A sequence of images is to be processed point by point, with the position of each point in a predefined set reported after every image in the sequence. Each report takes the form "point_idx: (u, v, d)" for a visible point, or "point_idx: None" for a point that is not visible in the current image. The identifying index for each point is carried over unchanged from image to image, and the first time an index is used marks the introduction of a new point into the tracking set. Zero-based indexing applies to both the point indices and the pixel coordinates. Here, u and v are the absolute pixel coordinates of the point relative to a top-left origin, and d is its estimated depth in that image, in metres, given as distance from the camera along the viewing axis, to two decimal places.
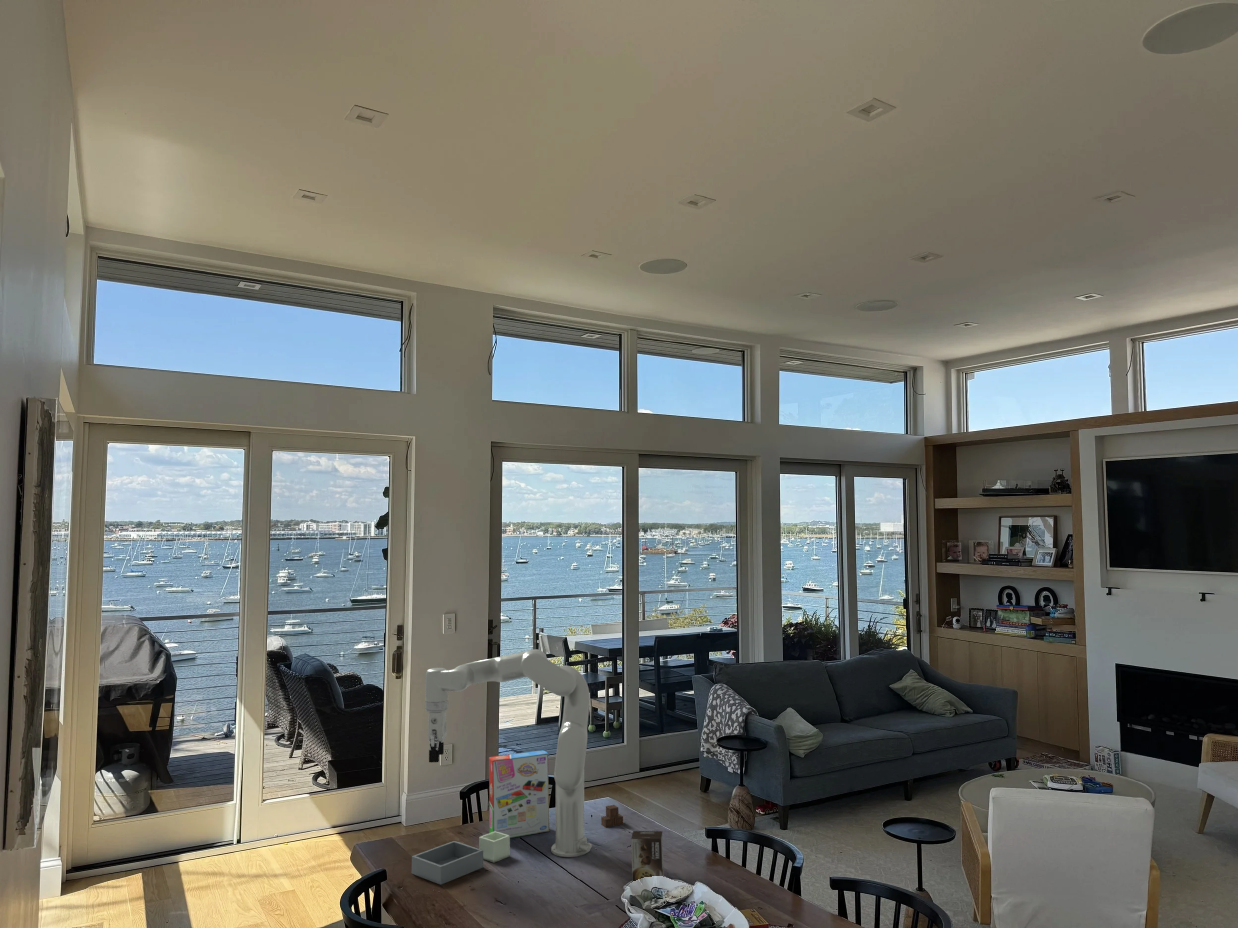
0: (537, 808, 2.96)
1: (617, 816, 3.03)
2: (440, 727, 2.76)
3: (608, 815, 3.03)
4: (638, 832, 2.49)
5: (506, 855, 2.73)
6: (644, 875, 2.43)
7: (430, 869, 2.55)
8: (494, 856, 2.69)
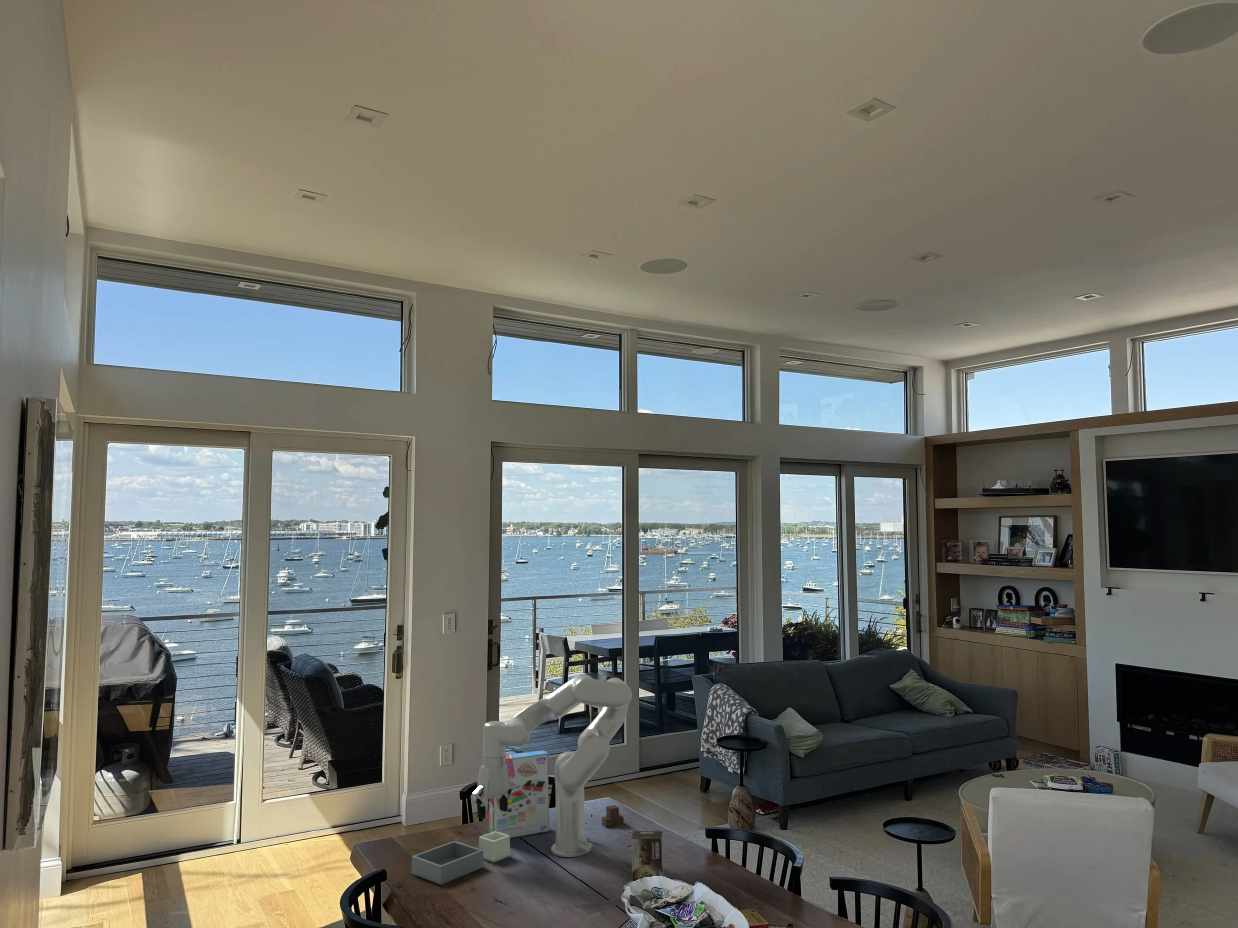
0: (537, 808, 2.96)
1: (617, 816, 3.03)
2: None
3: (608, 815, 3.02)
4: (638, 832, 2.49)
5: (506, 855, 2.73)
6: (644, 875, 2.43)
7: (430, 869, 2.55)
8: (494, 856, 2.69)
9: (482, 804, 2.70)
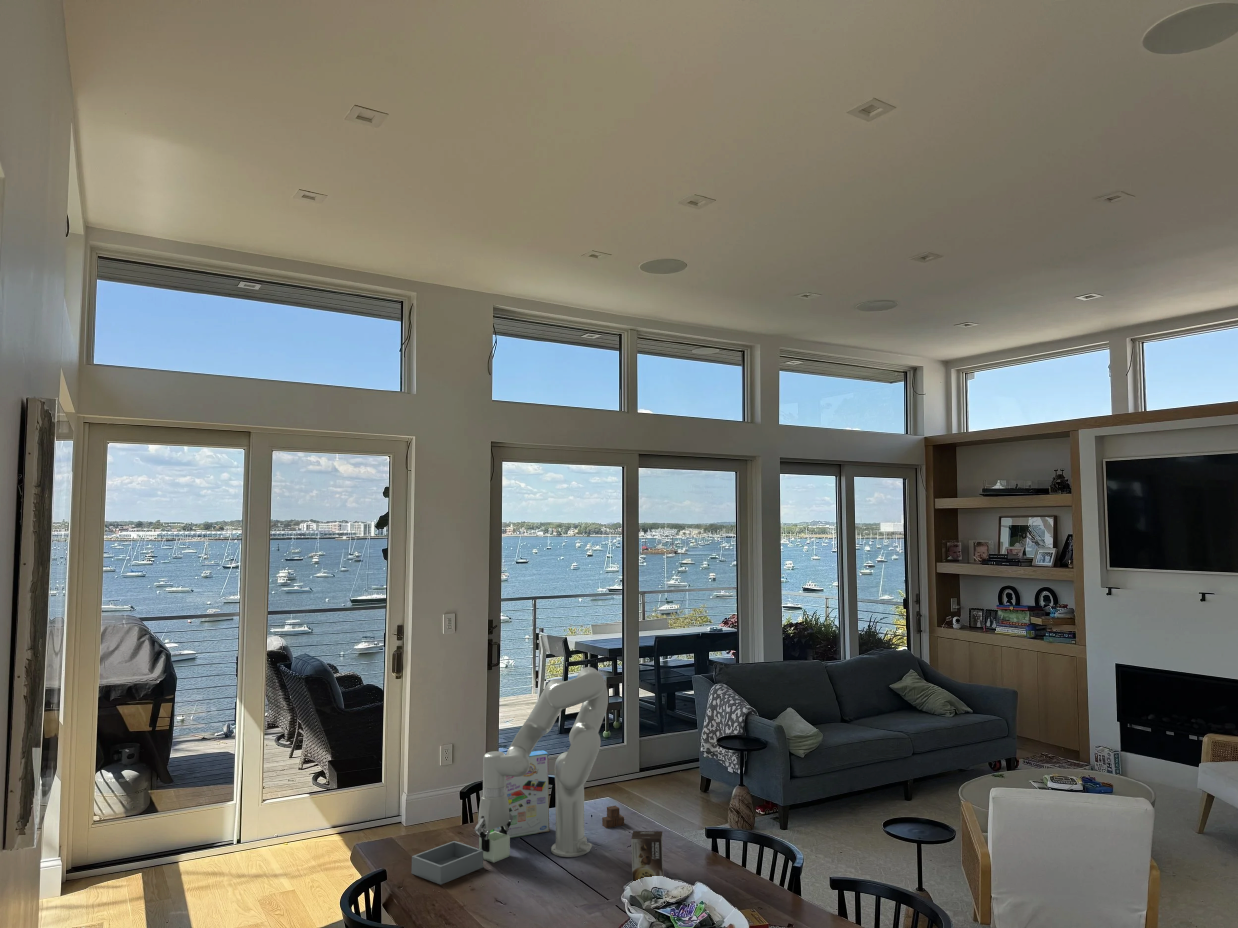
0: (537, 808, 2.96)
1: (618, 817, 3.02)
2: None
3: (609, 816, 3.02)
4: (638, 832, 2.49)
5: (506, 855, 2.73)
6: (644, 875, 2.43)
7: (430, 869, 2.55)
8: (494, 856, 2.69)
9: (486, 837, 2.70)
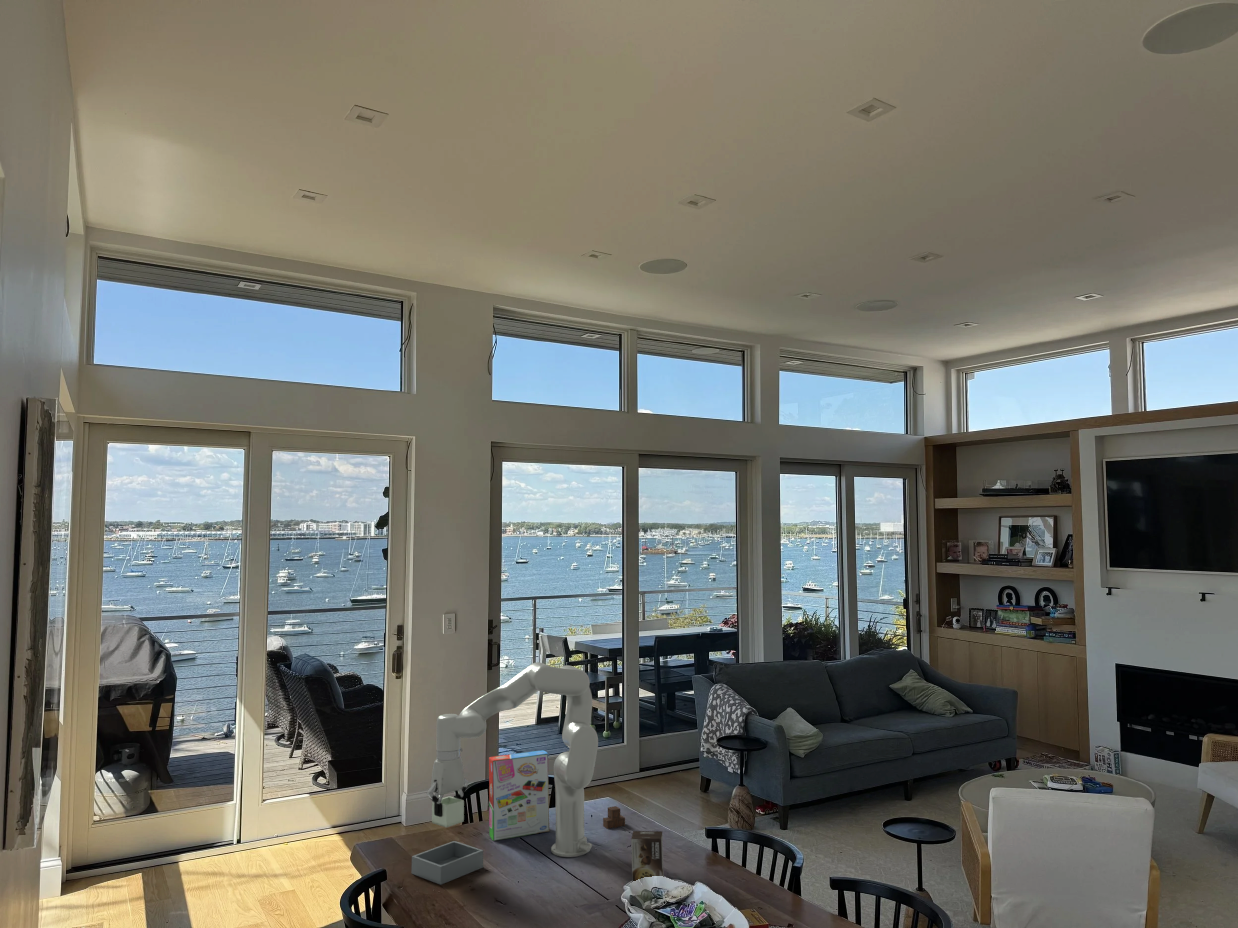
0: (537, 808, 2.96)
1: (619, 817, 3.01)
2: None
3: (610, 816, 3.01)
4: (638, 832, 2.49)
5: (460, 820, 2.64)
6: (644, 875, 2.43)
7: (430, 869, 2.55)
8: (447, 821, 2.60)
9: (439, 801, 2.61)
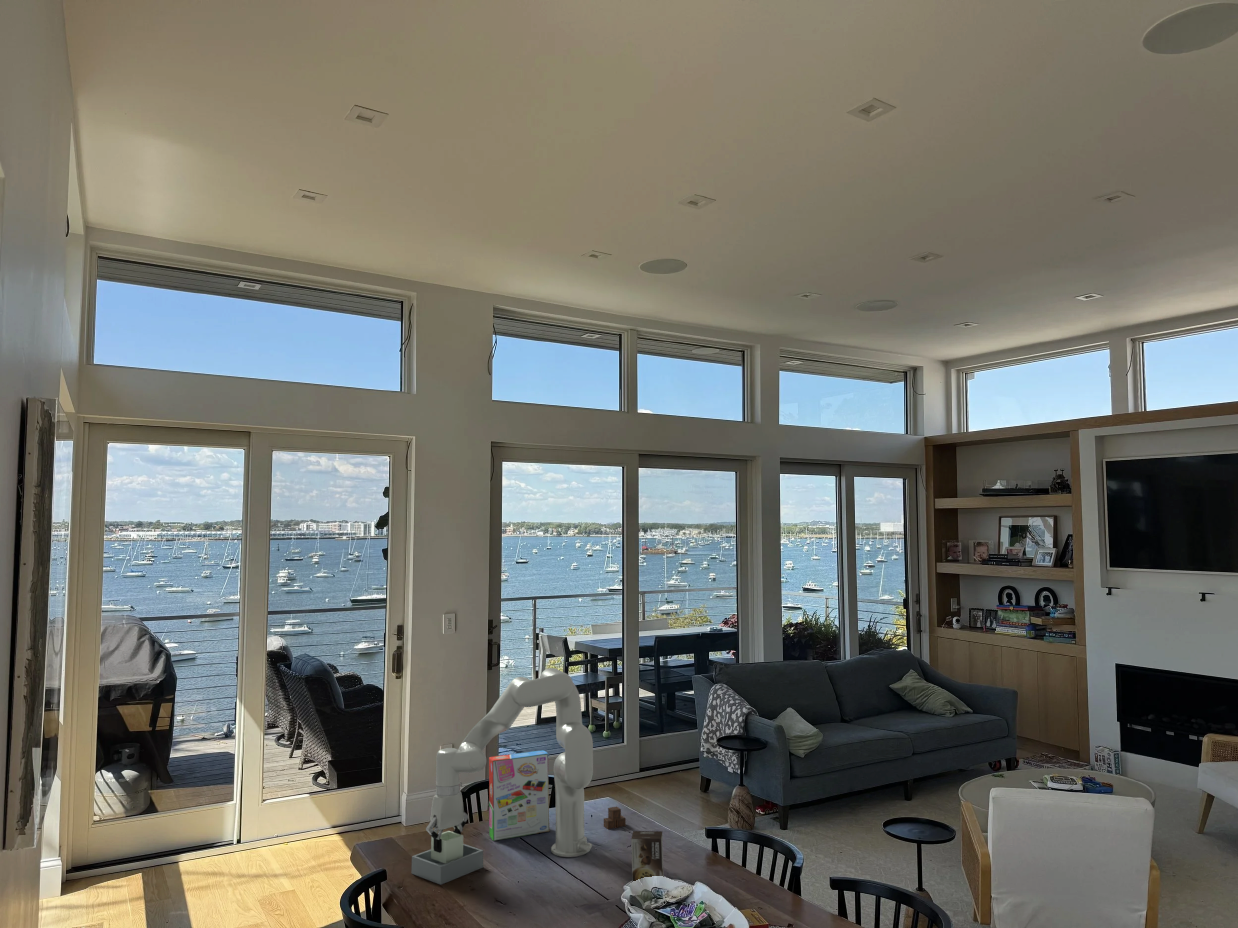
0: (537, 808, 2.96)
1: (619, 818, 3.01)
2: None
3: (610, 817, 3.01)
4: (638, 832, 2.49)
5: (459, 856, 2.63)
6: (644, 875, 2.43)
7: (430, 869, 2.55)
8: (446, 857, 2.59)
9: (438, 837, 2.60)
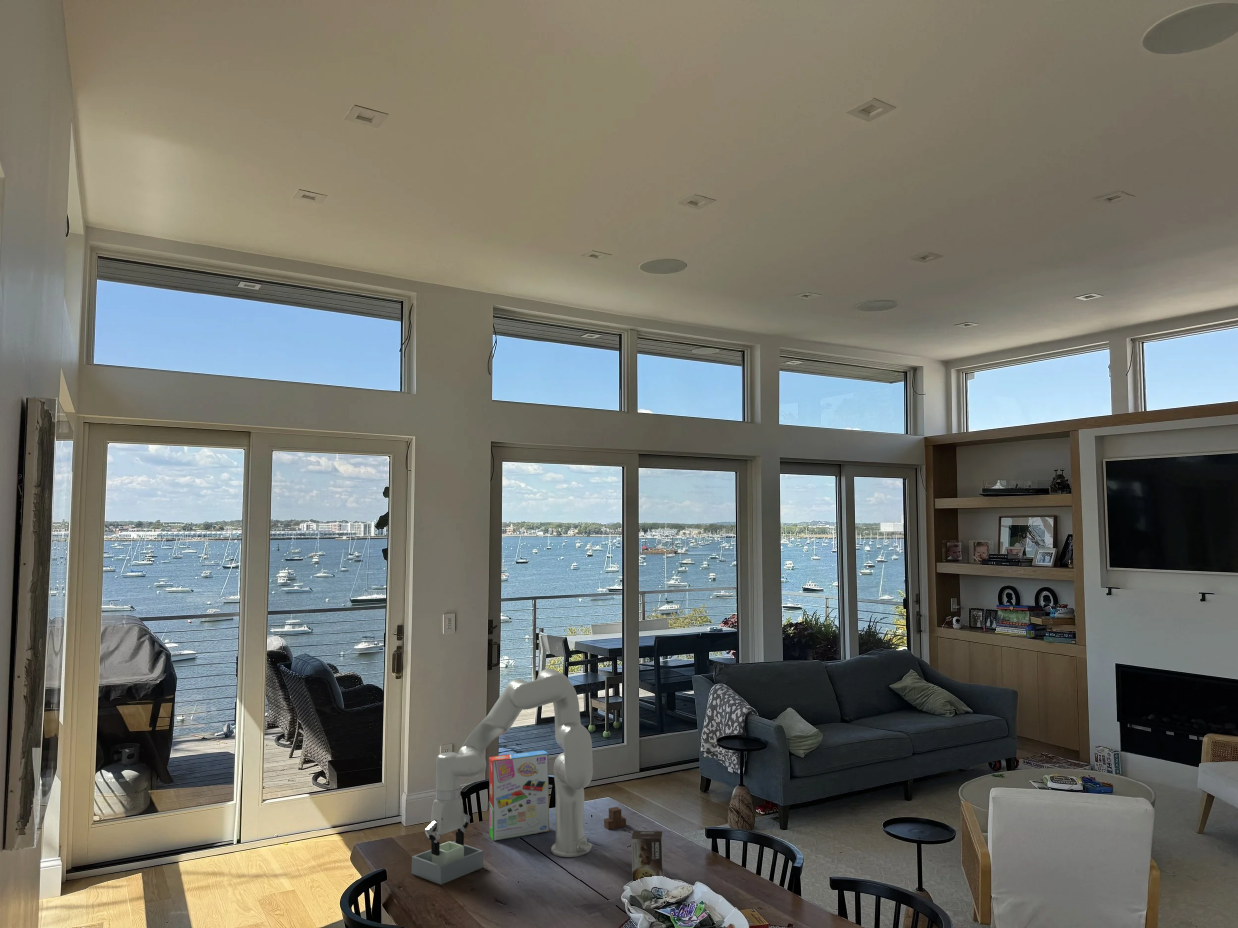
0: (537, 808, 2.96)
1: (620, 818, 3.01)
2: None
3: (611, 817, 3.00)
4: (638, 832, 2.49)
5: None
6: (644, 875, 2.43)
7: (430, 869, 2.55)
8: None
9: (436, 840, 2.59)
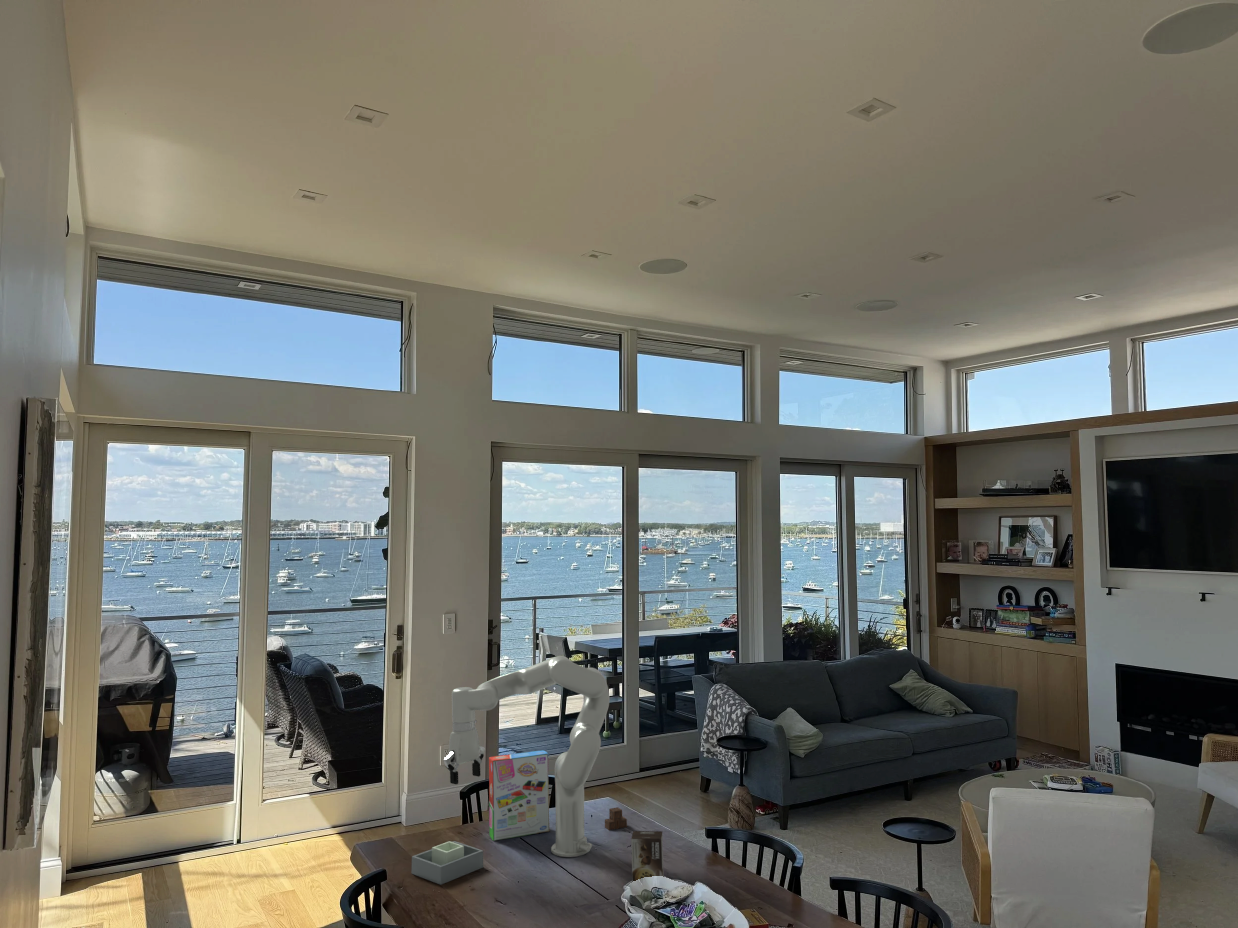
0: (537, 808, 2.96)
1: (621, 819, 3.00)
2: None
3: (612, 818, 3.00)
4: (638, 832, 2.49)
5: None
6: (644, 875, 2.43)
7: (430, 869, 2.55)
8: None
9: (454, 769, 2.70)
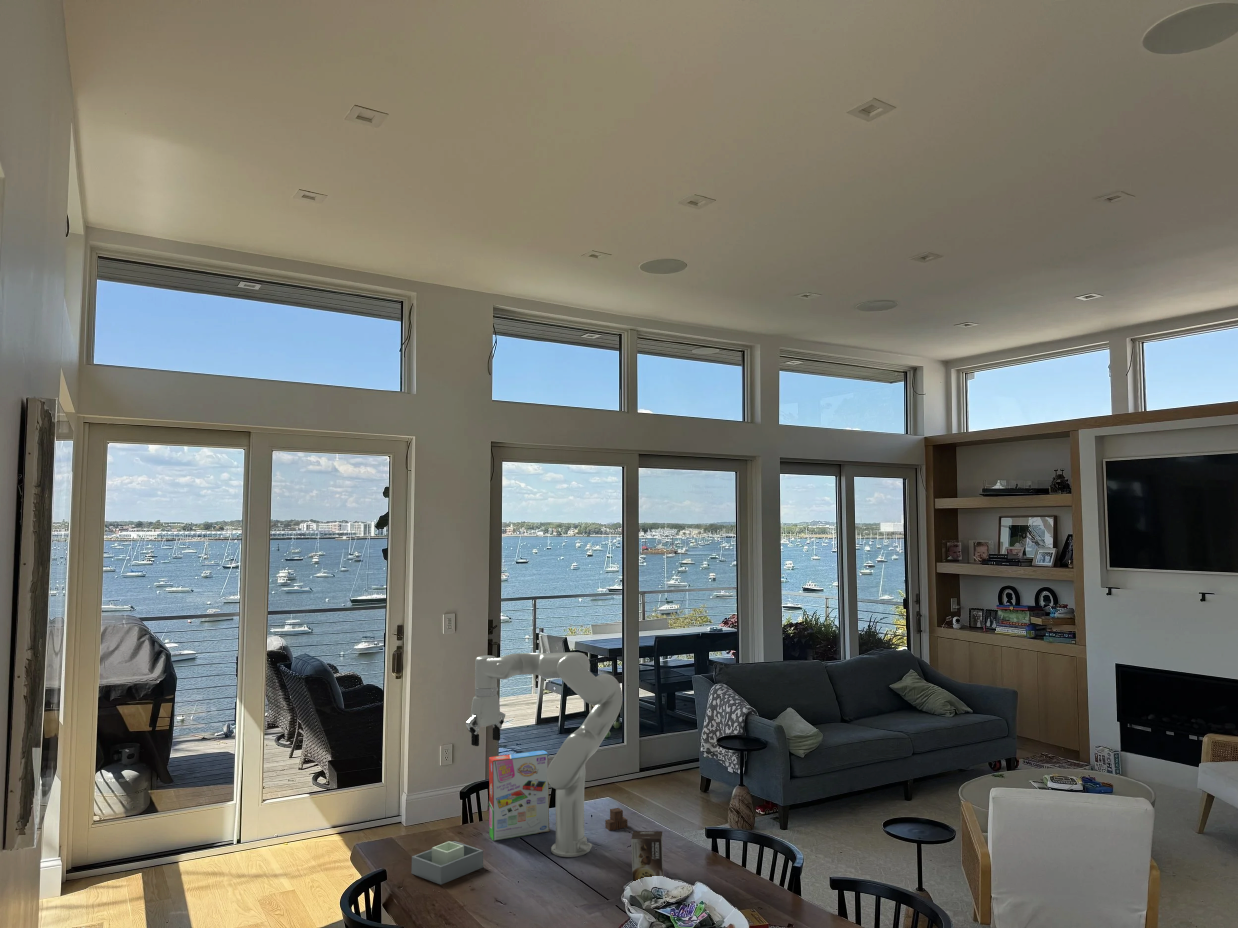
0: (537, 808, 2.96)
1: (621, 819, 2.99)
2: None
3: (612, 818, 2.99)
4: (638, 832, 2.49)
5: None
6: (644, 875, 2.43)
7: (430, 869, 2.55)
8: None
9: (475, 732, 2.85)
